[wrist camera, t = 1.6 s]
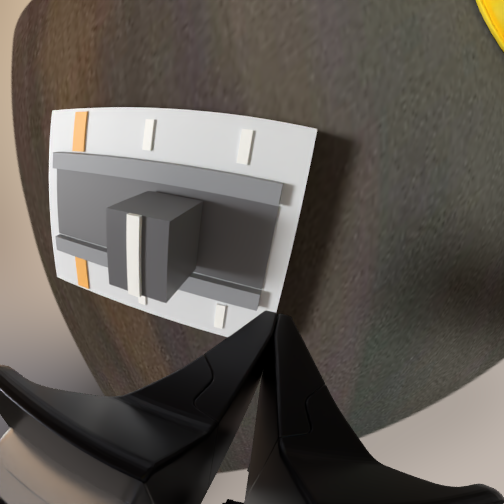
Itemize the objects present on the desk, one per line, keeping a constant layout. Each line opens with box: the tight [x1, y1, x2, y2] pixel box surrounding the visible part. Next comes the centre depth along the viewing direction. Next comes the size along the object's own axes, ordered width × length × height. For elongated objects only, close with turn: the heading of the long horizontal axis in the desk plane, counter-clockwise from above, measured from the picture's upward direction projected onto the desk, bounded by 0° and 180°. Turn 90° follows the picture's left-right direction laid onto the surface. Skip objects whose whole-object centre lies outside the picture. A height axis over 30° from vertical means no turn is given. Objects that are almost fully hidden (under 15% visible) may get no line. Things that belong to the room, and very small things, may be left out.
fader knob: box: [106, 191, 203, 303], centre depth 13 cm, size 4×3×4 cm
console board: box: [49, 107, 317, 337], centre depth 16 cm, size 12×16×2 cm
